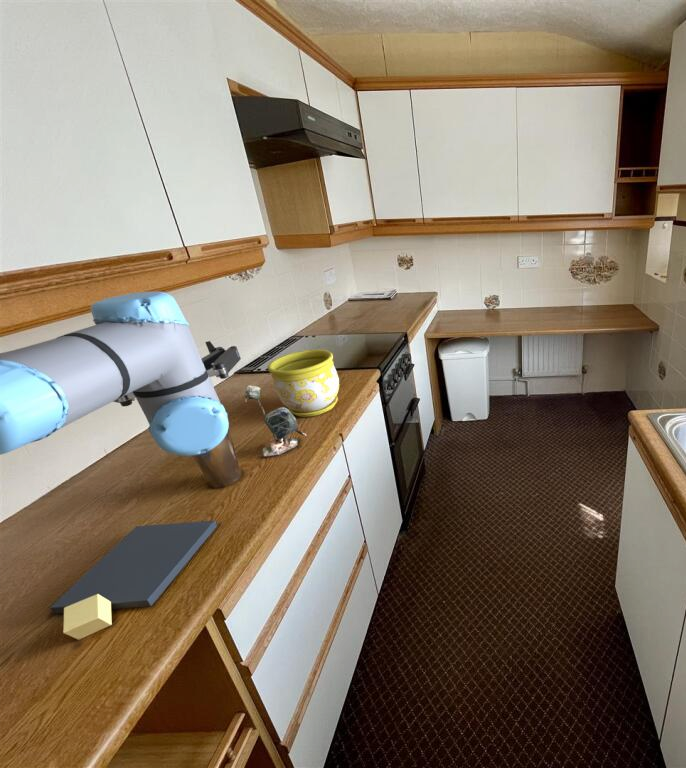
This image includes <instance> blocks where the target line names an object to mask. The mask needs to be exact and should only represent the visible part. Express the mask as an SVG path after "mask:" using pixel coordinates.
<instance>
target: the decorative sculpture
mask: <svg viewBox="0 0 686 768" xmlns="http://www.w3.org/2000/svg"><path fill="white" fill-rule="evenodd" d="M261 390H262V389H261V387H260V386H256V385H249V384H248V385H247V386H246V388H245V391H244V397H245V400H244V403H245V402H247V401H248V400H256V402H257V404H258V406H259V408H260V410H261V411H262V413H263V416H264V417H263V421H264V423H265V425H266V426H267V427H268V429H269V431H270V432H271V434H272V435H273V437H272V438H270V439H269V443H268V444H266V445H264V446H263V448H262V450H261V453H260V457H272V456H278V455H279V456H280V455H282V454H284V453H287V452H288V451H291V450H292V449H295V448H297V447H298V444H299V443H298V442H299V440H298V438H296V437H293V438H286V437H287V436H289V435H291V434H292V433H293V432H296V433H298V434H299V435H301V436H304V437H307V436H308V435H307V434H306V433H304V432H302V431H301V430H299V429H298V427H299V425H298V422H297V419H296V417H295V416H294V414H292V413H291V412H290V411H289V408H288V407H278V408H276V409H273V410H271V411H269V412H268V413H266V412H265V410H264V407H263V406H262V404H261V401H260V398H261V392H262V391H261Z"/></svg>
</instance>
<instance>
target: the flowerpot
mask: <svg viewBox="0 0 686 768" xmlns="http://www.w3.org/2000/svg"><path fill="white" fill-rule="evenodd" d="M333 359H334V354H333V353H332V352H331V351H329V350H325V349H306V350H300V351H296V352H291V353H288V354H285V355H283V356H279V357H278V358H276V359H274V360H273V361H271V362H270V363H269V364H268V365H267V371H268V372H269V373H270V374H271V378H272V380H273V385H274V389H275V392H276V395H277V397H278V399H279V400H280V401H281V403H282V404H283V405H284V406H285V407H286V408H288V410H289V411H290V412H291V413H292V415H295V416H296V417H301V418H308V417H309V418H310V417H314V416H319V415H322V414H325V413H327V412H329V411H330V410H332V409H333V408H334V407H335V406H336V404H337V402H338V401H339V397H338V393H339V390H340V379H339V374H338V372H337V369H336V367H335V362H334V360H333Z"/></svg>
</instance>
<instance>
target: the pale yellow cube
mask: <svg viewBox="0 0 686 768" xmlns="http://www.w3.org/2000/svg"><path fill="white" fill-rule="evenodd" d="M112 619H113V618H112V609H111V602H110V601H109V600H107V599H106V598H104V597H102V596H101V595H99V594H96V595H94V596H91V597H89V598H87V599H84V600H82V601H79V602H77V603H74V604H72V605H70V606H67V607H65V608H64V613H63V625H62V626H63V628H62V632H63V634H64V635H66V636H69V637H72V638H74V639H76V640H78V641H79V640H82V639H84V638H85V637H88V636H90V635H93V634H95V633H97V632H100V631H101V630H104V629H105V628H108V627H110V626H112V625H113V622H112V621H113V620H112Z"/></svg>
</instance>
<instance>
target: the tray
mask: <svg viewBox="0 0 686 768" xmlns="http://www.w3.org/2000/svg"><path fill="white" fill-rule="evenodd" d="M217 527H218V523H217V522H216V520H214V519H213V520H202V521H201V520H200V521H187V522H177V523H163V524H150V525H149V524H148V525H136V526H135V527H134V528H133V529H131V531H130V532H128V533H127V534H126V535H125V536H124V537H123V538H121V540H120V541H119V542H118V543H117V544H115V546H114V547H113V548H111V549H110V550H109V551H108V552H107V553H106V554H105V555H104V556H103V557H102V558H101V559H100V560H99V561H97V562H96V563H95V564H94V566H92V567H90V569H89V570H88V571H86V573H84V575H82V576H81V577H80V578H79V579H78V580H77V581H76V582H75V583H73V585H72V586H71V587H70V588H69V589H67V590H66V591H65V592H64V593H63V594H62V595H61V596H60V597H59V598H58V599H57V600H55V602H53V603H52V605H50V606H49V610H50V611H51V612H52V613H53V614H54V615H55V614H64V608H65V607H67V606H70V605H72V604H74V603H77V602H79V601H82V600H84V599H87V598H89V597H91V596H94V595H96V594H99V595H101V596H102V597H104V598H106V599H107V600H109V601H110V602H111V610H119V609H120V610H121V609H132V608H144V607H152V606H153V605H154V604H155V602H157V600H158V599H159V597H160V596H161V595H162V594H163V593H164V591H166V589H167V588H168V587H169V585H170V584H171V583H172V581H174V579H175V578H176V577H177V575H179V574H180V572H181V571H182V569H183V568H184V567H186V565H187V563H188V562H189V561H190V560H191V559H192V558H193V556H194V555H195V554H196V553H197V551H198V550H199V549H200V548H201V547H202V545H204V543H205V542H206V540H207V539H208V538H209V537H210V536H211V534H212V533H213V532H214V531H215V529H217Z"/></svg>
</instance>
